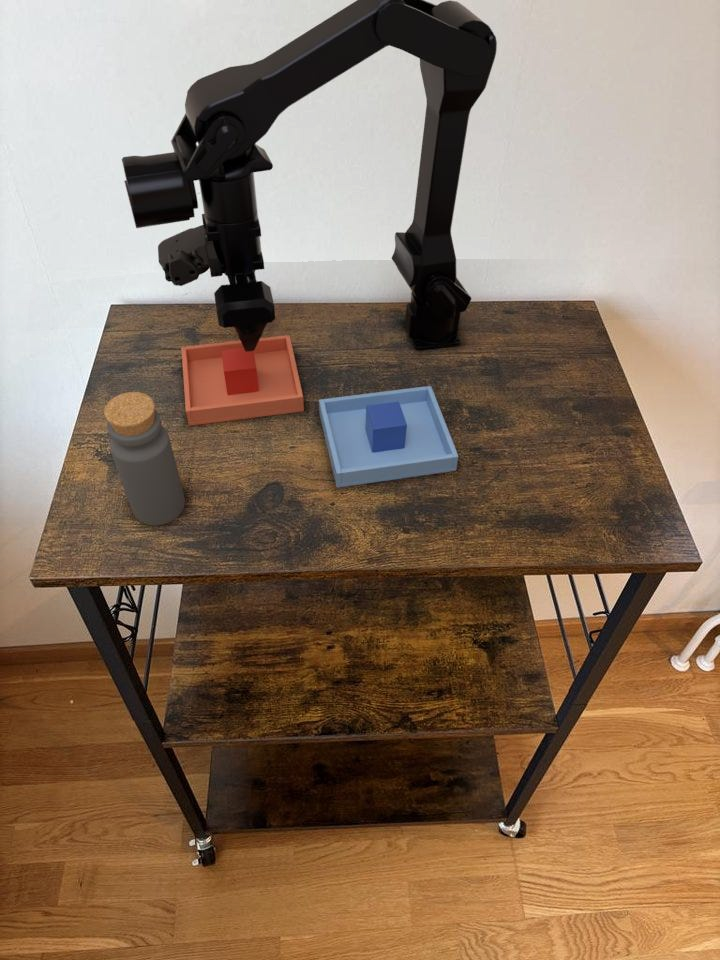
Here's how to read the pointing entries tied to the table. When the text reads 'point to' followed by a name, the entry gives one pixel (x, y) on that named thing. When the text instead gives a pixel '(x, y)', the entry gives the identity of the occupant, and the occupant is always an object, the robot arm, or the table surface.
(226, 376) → the red block
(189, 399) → the orange tray
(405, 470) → the blue tray
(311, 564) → the table surface
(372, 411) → the blue block
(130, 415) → the bottle
